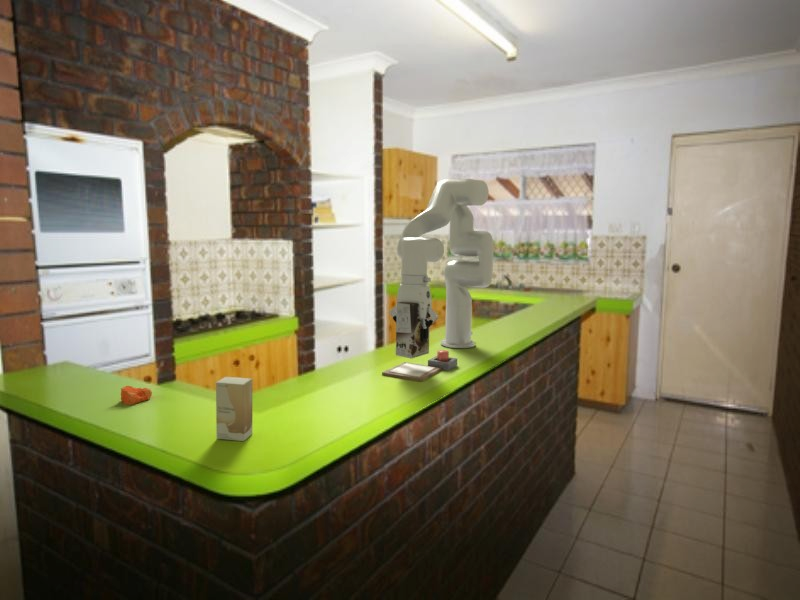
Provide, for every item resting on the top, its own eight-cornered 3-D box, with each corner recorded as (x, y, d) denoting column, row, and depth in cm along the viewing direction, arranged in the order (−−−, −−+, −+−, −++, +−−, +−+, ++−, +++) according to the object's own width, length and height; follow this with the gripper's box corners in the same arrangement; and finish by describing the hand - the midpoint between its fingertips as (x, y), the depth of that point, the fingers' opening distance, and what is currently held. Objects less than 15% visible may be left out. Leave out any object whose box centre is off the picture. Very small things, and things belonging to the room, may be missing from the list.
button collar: (437, 362, 171) (437, 355, 170) (457, 365, 167) (457, 358, 167) (427, 367, 165) (427, 360, 164) (448, 370, 161) (448, 363, 161)
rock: (173, 400, 133) (173, 384, 133) (126, 415, 123) (125, 397, 122) (145, 392, 140) (144, 376, 139) (97, 405, 129) (96, 388, 128)
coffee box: (412, 359, 153) (413, 304, 150) (394, 355, 156) (395, 302, 154) (430, 353, 160) (431, 300, 158) (412, 350, 164) (413, 298, 161)
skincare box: (215, 439, 108) (213, 381, 106) (226, 431, 112) (224, 375, 111) (245, 441, 107) (243, 383, 105) (254, 433, 111) (252, 377, 110)
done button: (440, 359, 168) (440, 349, 168) (450, 361, 166) (450, 351, 166) (435, 361, 165) (435, 352, 165) (445, 363, 163) (445, 353, 163)
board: (404, 364, 168) (404, 361, 168) (441, 370, 162) (441, 367, 162) (382, 374, 156) (382, 371, 156) (421, 381, 150) (421, 378, 150)
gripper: (446, 281, 154) (444, 340, 157) (394, 277, 162) (393, 334, 165) (435, 283, 148) (433, 345, 150) (382, 279, 156) (381, 338, 158)
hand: (412, 339), depth 157 cm, fingers closed on coffee box, 6 cm apart
